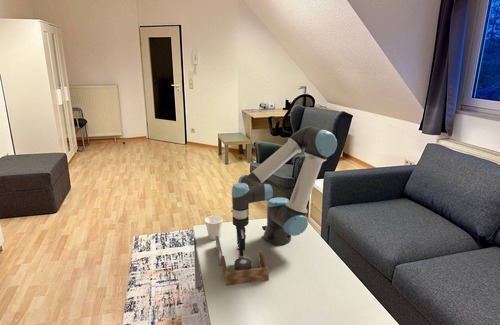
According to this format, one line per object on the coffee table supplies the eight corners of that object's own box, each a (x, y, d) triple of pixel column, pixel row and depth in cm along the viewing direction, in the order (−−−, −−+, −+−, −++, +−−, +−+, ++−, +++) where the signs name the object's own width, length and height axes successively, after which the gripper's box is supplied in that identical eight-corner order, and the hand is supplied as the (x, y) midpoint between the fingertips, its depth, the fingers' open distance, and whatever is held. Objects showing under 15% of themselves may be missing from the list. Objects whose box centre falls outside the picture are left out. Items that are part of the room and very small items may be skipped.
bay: (261, 262, 168) (261, 251, 167) (268, 279, 155) (268, 268, 153) (221, 266, 165) (221, 255, 163) (225, 285, 152) (225, 273, 150)
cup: (224, 233, 196) (224, 215, 193) (221, 242, 187) (221, 224, 184) (207, 232, 197) (206, 215, 194) (203, 241, 188) (202, 223, 184)
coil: (249, 262, 168) (249, 256, 167) (253, 272, 161) (253, 265, 160) (233, 264, 167) (233, 258, 166) (236, 274, 159) (236, 267, 158)
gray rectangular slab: (215, 246, 182) (215, 234, 180) (218, 245, 183) (218, 234, 181) (219, 266, 165) (219, 253, 163) (223, 265, 165) (222, 252, 163)
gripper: (230, 210, 166) (231, 253, 173) (234, 223, 154) (235, 268, 161) (246, 209, 167) (246, 252, 174) (251, 221, 155) (251, 267, 162)
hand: (241, 260), depth 168 cm, fingers closed
